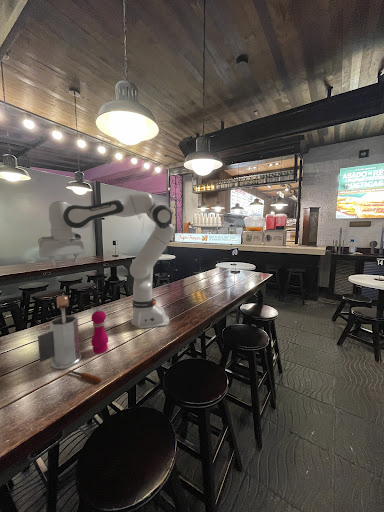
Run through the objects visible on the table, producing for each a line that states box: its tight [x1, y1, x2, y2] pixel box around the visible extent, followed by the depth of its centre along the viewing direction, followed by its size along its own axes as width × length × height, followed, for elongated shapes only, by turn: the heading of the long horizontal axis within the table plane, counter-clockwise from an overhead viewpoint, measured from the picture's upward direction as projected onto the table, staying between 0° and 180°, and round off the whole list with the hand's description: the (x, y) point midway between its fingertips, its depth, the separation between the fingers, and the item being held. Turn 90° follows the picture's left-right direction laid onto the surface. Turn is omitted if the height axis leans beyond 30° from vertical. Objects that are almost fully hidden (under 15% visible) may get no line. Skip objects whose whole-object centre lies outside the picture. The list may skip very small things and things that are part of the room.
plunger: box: [56, 294, 70, 324], centre depth 89 cm, size 6×6×26 cm
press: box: [37, 315, 82, 371], centre depth 88 cm, size 11×14×18 cm
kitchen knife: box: [68, 369, 102, 384], centre depth 80 cm, size 16×1×2 cm, turn 70°
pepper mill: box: [90, 307, 109, 354], centre depth 98 cm, size 7×7×20 cm
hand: (65, 264), depth 105 cm, fingers open, 8 cm apart
